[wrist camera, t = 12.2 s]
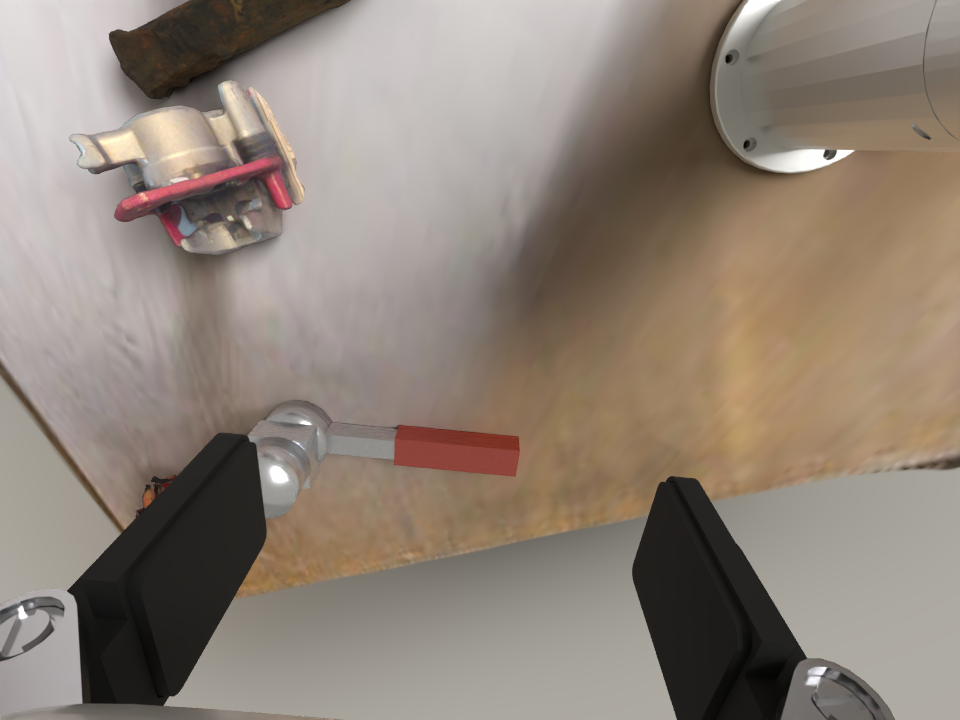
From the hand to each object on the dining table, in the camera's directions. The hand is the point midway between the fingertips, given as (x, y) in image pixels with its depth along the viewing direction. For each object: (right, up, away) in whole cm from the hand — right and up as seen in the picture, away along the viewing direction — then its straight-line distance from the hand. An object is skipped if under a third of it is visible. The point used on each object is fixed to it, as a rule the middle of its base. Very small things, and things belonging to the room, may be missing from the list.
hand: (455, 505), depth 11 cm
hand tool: (-13, +26, +20) cm, 36 cm away
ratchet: (-7, -4, +33) cm, 34 cm away
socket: (-16, -4, +30) cm, 35 cm away
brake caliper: (-18, +17, +24) cm, 35 cm away
